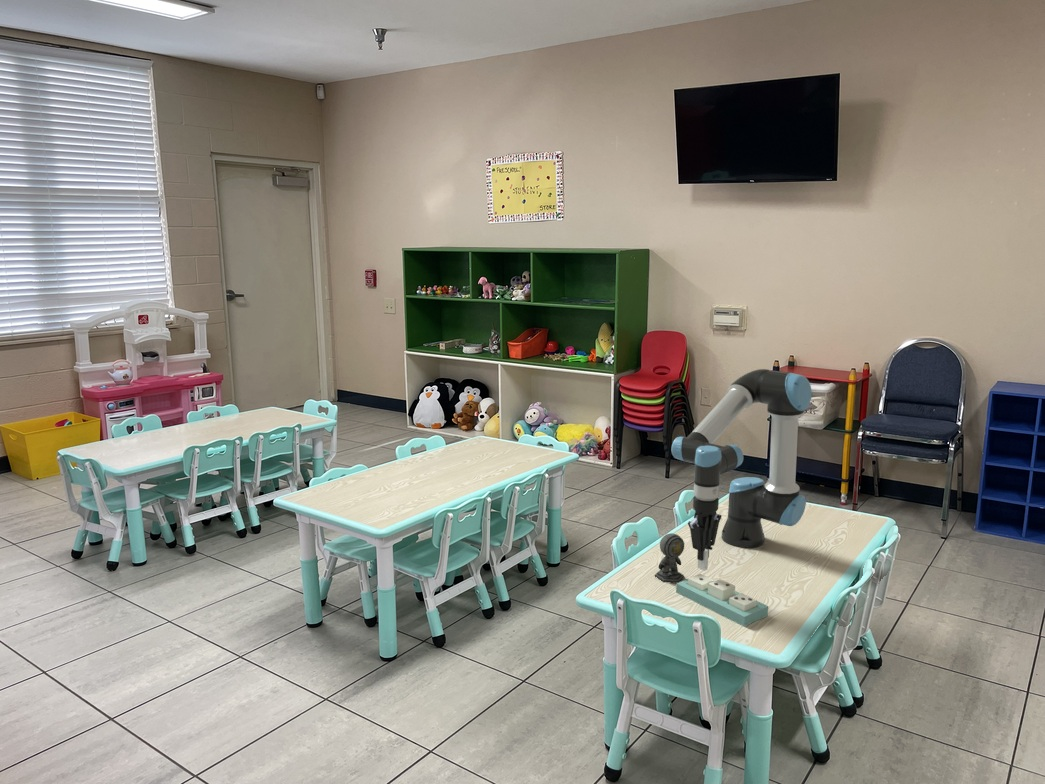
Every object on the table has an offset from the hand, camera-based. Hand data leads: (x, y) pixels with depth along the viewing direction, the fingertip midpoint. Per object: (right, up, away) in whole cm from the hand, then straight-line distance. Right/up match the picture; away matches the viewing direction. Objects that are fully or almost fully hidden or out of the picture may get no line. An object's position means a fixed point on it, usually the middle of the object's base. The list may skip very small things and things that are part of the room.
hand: (702, 568), depth 241 cm
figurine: (-8, -6, +13) cm, 16 cm away
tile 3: (+9, -10, -11) cm, 18 cm away
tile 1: (0, -7, +1) cm, 8 cm away
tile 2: (+4, -7, -5) cm, 10 cm away
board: (+4, -10, -5) cm, 12 cm away
